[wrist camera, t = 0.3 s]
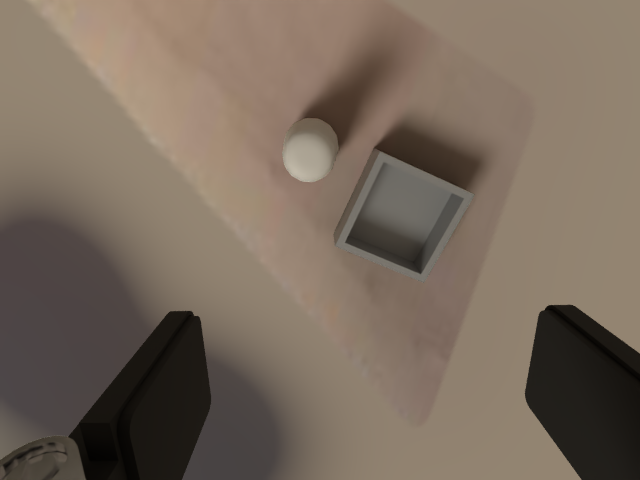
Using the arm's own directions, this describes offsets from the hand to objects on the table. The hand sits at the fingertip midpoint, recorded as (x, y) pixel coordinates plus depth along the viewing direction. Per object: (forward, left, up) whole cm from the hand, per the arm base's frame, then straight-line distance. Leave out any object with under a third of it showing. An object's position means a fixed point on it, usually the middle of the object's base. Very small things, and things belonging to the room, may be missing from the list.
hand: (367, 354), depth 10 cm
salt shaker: (-3, +2, -34) cm, 34 cm away
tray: (+9, -1, -34) cm, 35 cm away
